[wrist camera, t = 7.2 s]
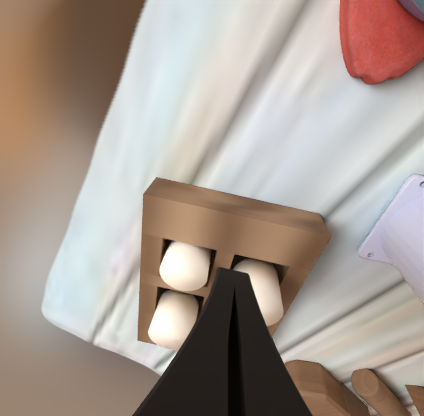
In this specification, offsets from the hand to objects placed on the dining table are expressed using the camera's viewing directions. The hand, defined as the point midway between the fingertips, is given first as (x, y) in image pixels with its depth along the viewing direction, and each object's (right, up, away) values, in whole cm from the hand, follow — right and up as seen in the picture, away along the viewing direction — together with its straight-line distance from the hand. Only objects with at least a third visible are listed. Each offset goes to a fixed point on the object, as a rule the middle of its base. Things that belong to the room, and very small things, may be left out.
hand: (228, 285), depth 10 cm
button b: (-4, -6, +13) cm, 15 cm away
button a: (-3, 0, +12) cm, 12 cm away
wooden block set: (+21, -19, +22) cm, 36 cm away
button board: (0, -4, +15) cm, 15 cm away
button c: (+3, -3, +10) cm, 11 cm away
